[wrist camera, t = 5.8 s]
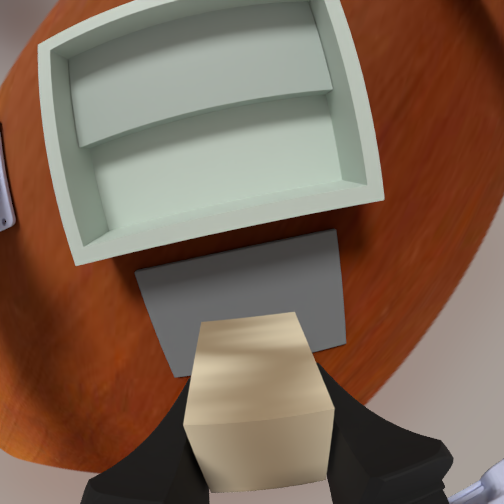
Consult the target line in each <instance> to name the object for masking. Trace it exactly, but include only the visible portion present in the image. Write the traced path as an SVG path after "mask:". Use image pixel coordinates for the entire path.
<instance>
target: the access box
mask: <svg viewBox="0 0 504 504" xmlns="http://www.w3.org/2000/svg"><path fill="white" fill-rule="evenodd" d="M38 75H39V92H40V104H41V114H42V123H43V130H44V137H45V144H46V150H47V156H48V162H49V167H50V172H51V177H52V182H53V186H54V191H55V195H56V199H57V203H58V207H59V211H60V215H61V219H62V223H63V226H64V230H65V233H66V237H67V240H68V243H69V246H70V250H71V253H72V256H73V259H74V262H75V265H76V266H78V265H82V264H86V263H90V262H94V261H98V260H102V259H106V258H110V257H115V256H119V255H123V254H127V253H131V252H136V251H140V250H144V249H148V248H153V247H157V246H161V245H166V244H170V243H175V242H179V241H184V240H188V239H193V238H197V237H202V236H206V235H211V234H215V233H220V232H225V231H229V230H234V229H239V228H243V227H248V226H253V225H258V224H262V223H267V222H272V221H277V220H282V219H287V218H292V217H297V216H302V215H307V214H312V213H317V212H322V211H328V210H333V209H338V208H343V207H349V206H354V205H359V204H365V203H370V202H376V201H381V200H384V191H383V183H382V175H381V168H380V161H379V154H378V148H377V142H376V136H375V130H374V125H373V120H372V115H371V110H370V105H369V101H368V96H367V92H366V87H365V83H364V79H363V75H362V71H361V67H360V64H359V60H358V56H357V53H356V49H355V46H354V43H353V39H352V36H351V33H350V30H349V26H348V23H347V20H346V17H345V14H344V12H343V9H342V6H341V3H340V0H135V1H132V2H130V3H127V4H124V5H121V6H118V7H116V8H113V9H111V10H108V11H106V12H103V13H101V14H98V15H96V16H94V17H91V18H89V19H87V20H85V21H83V22H80V23H78V24H76V25H74V26H72V27H70V28H68V29H66V30H64V31H62V32H60V33H58V34H57V35H55V36H53V37H51V38H49V39H47V40H46V41H44V42H42V43H40V44H39V45H38Z"/></svg>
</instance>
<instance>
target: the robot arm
mask: <svg viewBox="0 0 504 504" xmlns="http://www.w3.org/2000/svg"><path fill="white" fill-rule="evenodd" d="M5 220H6V223H5ZM15 222H16V218H15V214H14V210H13V205H12V201H11V196H10V192H9V187H8V182H7V176H6V171H5V164H4V158H3V151H2V143H1V134H0V231H2V230H5V229H7V228H9V227H12V226H13V225H14V224H15ZM316 364H317V366H318V369H319V371H320V374H321V376H322V379H323V381H324V383H325V386H326V388H327V391H328V393H329V396H330V398H331V401H332V403H333V406H334V408H335V410H334V420H333V429H332V437H331V445H330V453H329V460H328V467H327V473H326V474H327V479H328V483H329V487H330V492H331V497H332V501H333V504H504V459H502V460H501V461H499V462H498V463H496V464H495V465H493V466H492V467H491V468H490V469H488V470H487V471H486V472H485V473H484V474H483V476H482V477H481V479H480V480H479V481H477V482H475V483H474V484H472V485H470V486H469V487H467V488H465V489H463V490H462V491H460V492H458V493H456V494H454V495H453V496H451V497H449V498H447V497H446V495H445V493H444V491H443V489H444V488H445V485H444V483H443V481H442V479H443V478H444V476H445V475H446V473H447V472H448V471H449V469H450V467H451V466H452V464H453V457H452V455H451V453H450V452H449V450H448V449H447V447H446V446H445V445H444V444H443V442H442V441H441V440H437V439H434V438H430V437H427V436H423V435H420V434H416V433H414V432H411V431H409V430H406V429H404V428H401V427H399V426H397V425H395V424H393V423H391V422H389V421H386V420H385V419H383V418H382V417H380V416H378V415H377V414H375V413H373V412H372V411H370V410H369V409H367V408H366V407H365V406H363V405H362V404H361V403H359V402H358V401H357V400H356V399H354V398H353V397H352V396H351V395H350V394H348V393H347V392H346V391H345V390H344V389H343V388H342V387H341V386H340V385H339V384H338V383H337V382H336V381H335V380H334V379H333V378H332V377H331V376H330V375H329V374H328V373H327V372H326V371H325V370H324V368H323V367H322V366H321V365H320V364H319V363H316ZM190 381H191V377H190V378H189V379H188V381H187V383H186V385H185V387H184V388H183V390H182V392H181V393H180V395H179V397H178V398H177V400H176V401H175V403H174V404H173V406H172V407H171V409H170V411H169V412H168V413H167V415H166V416H165V417H164V419H163V420H162V421H161V423H160V424H159V425H158V426H157V428H156V429H155V430H154V431H153V432H152V433H151V434H150V435H149V437H148V438H147V439H146V440H145V441H144V442H143V443H142V444H140V445H139V446H138V447H137V448H136V449H135V450H134V451H133V452H132V453H130V454H129V455H128V456H127V457H125V458H124V459H123V460H121V461H120V462H118V463H117V464H116V465H114V466H113V467H111V468H109V469H108V470H106V471H104V472H103V473H101V474H99V475H97V476H95V477H93V478H91V479H89V481H88V483H87V485H86V488H85V490H84V494H83V497H82V500H81V503H80V504H209V487H208V484H207V482H206V480H205V478H204V476H203V473H202V471H201V469H200V466H199V464H198V462H197V459H196V457H195V454H194V452H193V449H192V447H191V444H190V442H189V439H188V437H187V434H186V431H185V429H184V426H183V423H184V417H185V411H186V405H187V399H188V393H189V387H190Z"/></svg>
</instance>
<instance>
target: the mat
mask: <svg viewBox="0 0 504 504" xmlns="http://www.w3.org/2000/svg"><path fill="white" fill-rule="evenodd" d="M134 273H135V276H136V279H137V282H138V285H139V288H140V291H141V294H142V296H143V299H144V302H145V305H146V308H147V310H148V313H149V316H150V318H151V321H152V324H153V326H154V329H155V331H156V334H157V337H158V339H159V342H160V344H161V347H162V349H163V351H164V354H165V356H166V359H167V361H168V363H169V366H170V368H171V370H172V372H173V375H174V377H183V376H191V375H192V370H193V364H194V359H195V353H196V348H197V342H198V337H199V332H200V326H201V322H207V321H218V320H228V319H238V318H247V317H256V316H264V315H273V314H281V313H288V312H295V314H296V316H297V318H298V321H299V323H300V326H301V328H302V330H303V333H304V335H305V338H306V340H307V342H308V345H309V347H310V350H311V352H316V351H320V350H324V349H328V348H332V347H335V346H339V345H343V344H346V333H345V316H344V302H343V290H342V278H341V268H340V258H339V249H338V241H337V232H336V230H335V229H329V230H324V231H319V232H315V233H310V234H305V235H300V236H295V237H290V238H286V239H281V240H276V241H271V242H267V243H262V244H257V245H252V246H247V247H243V248H238V249H233V250H228V251H224V252H219V253H214V254H210V255H205V256H200V257H196V258H191V259H186V260H182V261H177V262H172V263H168V264H163V265H158V266H154V267H149V268H144V269H140V270H136V271H135V272H134Z"/></svg>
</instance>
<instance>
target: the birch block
mask: <svg viewBox="0 0 504 504" xmlns="http://www.w3.org/2000/svg"><path fill="white" fill-rule="evenodd" d="M334 410H335V408H334V406H333V403H332V401H331V398H330V396H329V393H328V391H327V388H326V386H325V383H324V381H323V379H322V376H321V374H320V371H319V369H318V366H317V364H316V362H315V359H314V357H313V354H312V352H311V350H310V347H309V345H308V342H307V340H306V338H305V335H304V333H303V330H302V328H301V326H300V323H299V321H298V318H297V316H296V314H295V312H288V313H281V314H273V315H264V316H256V317H247V318H238V319H228V320H218V321H207V322H201V326H200V332H199V337H198V342H197V348H196V353H195V359H194V364H193V370H192V375H191V381H190V387H189V393H188V399H187V405H186V411H185V417H184V423H183V426H184V429H185V431H186V434H187V437H188V439H189V442H190V444H191V447H192V449H193V452H194V454H195V457H196V459H197V462H198V464H199V466H200V469H201V471H202V473H203V476H204V478H205V480H206V482H207V484H208V487H209V489H210V491H211V493H222V492H223V493H224V492H243V491H256V490H266V489H274V488H282V487H289V486H295V485H302V484H307V483H313V482H317V481H323V480H326V473H327V467H328V460H329V453H330V445H331V437H332V429H333V420H334Z"/></svg>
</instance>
